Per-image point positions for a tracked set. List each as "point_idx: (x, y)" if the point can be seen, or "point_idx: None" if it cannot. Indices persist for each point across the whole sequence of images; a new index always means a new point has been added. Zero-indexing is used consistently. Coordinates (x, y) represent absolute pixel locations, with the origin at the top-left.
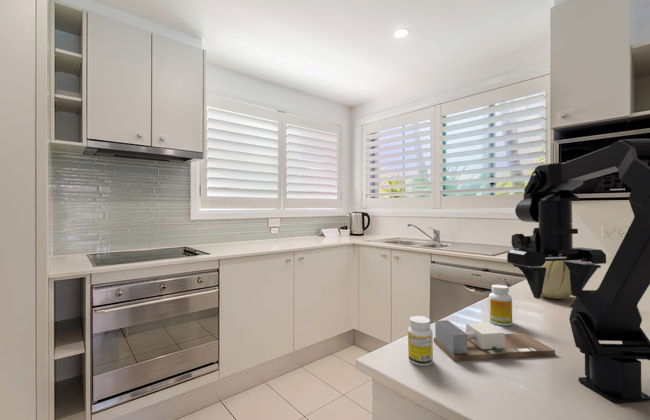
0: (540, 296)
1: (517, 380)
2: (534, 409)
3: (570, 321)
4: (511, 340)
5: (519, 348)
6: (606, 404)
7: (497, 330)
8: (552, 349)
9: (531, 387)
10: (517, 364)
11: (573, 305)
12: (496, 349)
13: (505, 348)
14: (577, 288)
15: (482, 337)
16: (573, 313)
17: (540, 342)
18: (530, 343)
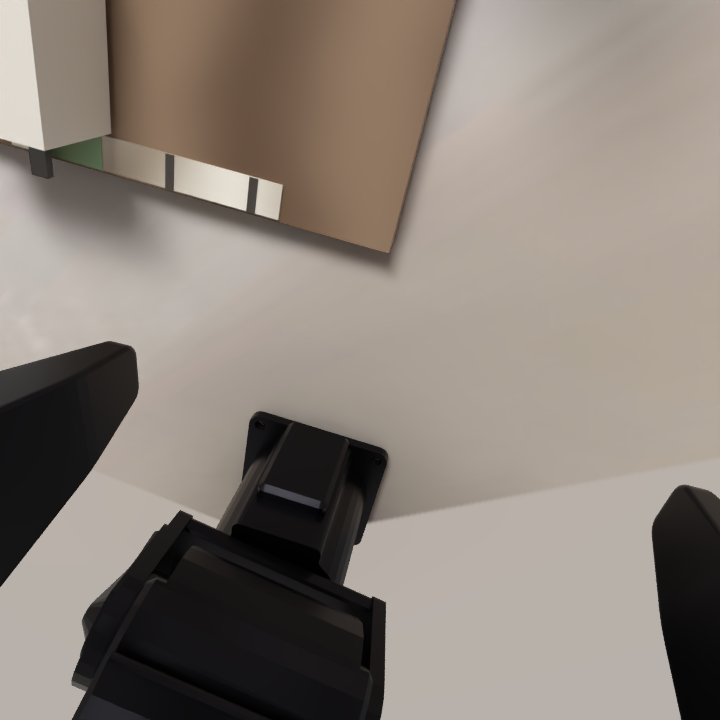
0: (119, 422)
1: (49, 318)
2: None
3: (113, 589)
4: (251, 30)
5: (208, 156)
6: (220, 490)
7: (16, 93)
8: (383, 242)
9: None
10: (128, 234)
11: (98, 682)
12: (31, 153)
13: (128, 122)
14: (684, 638)
15: None
16: (83, 652)
17: (415, 140)
18: (337, 124)
